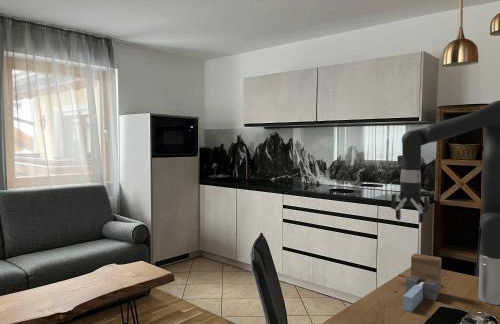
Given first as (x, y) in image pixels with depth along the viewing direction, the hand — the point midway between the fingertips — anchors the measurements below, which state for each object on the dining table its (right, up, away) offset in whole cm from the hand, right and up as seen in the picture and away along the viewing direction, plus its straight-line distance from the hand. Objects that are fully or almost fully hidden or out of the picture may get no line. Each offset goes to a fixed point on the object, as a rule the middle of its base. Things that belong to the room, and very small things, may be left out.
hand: (409, 221), depth 154 cm
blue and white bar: (-2, -29, -11) cm, 31 cm away
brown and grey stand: (+5, -28, -2) cm, 29 cm away
